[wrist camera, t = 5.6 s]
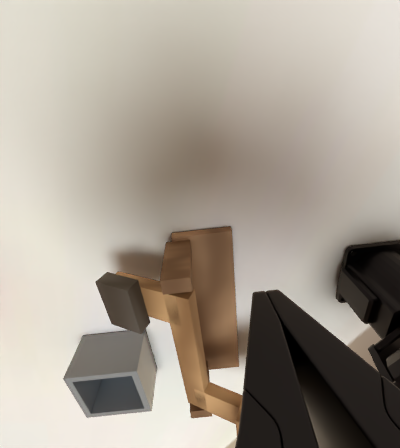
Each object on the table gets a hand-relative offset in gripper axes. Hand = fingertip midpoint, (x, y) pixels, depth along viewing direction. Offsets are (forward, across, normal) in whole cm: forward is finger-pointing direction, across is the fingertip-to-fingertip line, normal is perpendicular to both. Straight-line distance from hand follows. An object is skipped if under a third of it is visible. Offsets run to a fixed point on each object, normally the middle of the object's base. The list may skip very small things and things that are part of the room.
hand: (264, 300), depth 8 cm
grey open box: (+12, +12, +18) cm, 25 cm away
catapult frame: (+12, +2, +12) cm, 17 cm away
